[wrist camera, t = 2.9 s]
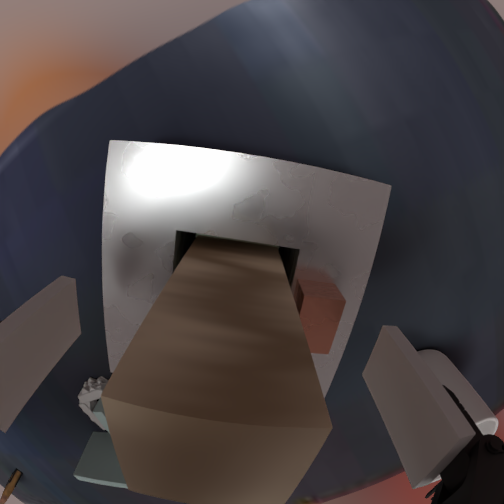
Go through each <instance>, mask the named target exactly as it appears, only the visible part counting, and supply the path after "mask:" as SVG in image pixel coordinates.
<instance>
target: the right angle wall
mask: <svg viewBox="0 0 504 504" xmlns="http://www.w3.org/2000/svg"><path fill="white" fill-rule="evenodd" d="M108 381H109V380H107V379H105V378H104V377H102V376H101V377H99V378H98V379H97V380H96V379H93V378H91V377H90V378H89V379H88V382H84V383H85V384H84V385H83V386H84V388H82V390H81V391H80V393H79V395H78V396H77V397H78V399H79V400H80V401H79V403H80V404H79V406H80V408H81V409H82V410H83V412H85V413H86V414H87V415H88V416H89V417H90V419H91V420H92V421H94V422H95V423H96V424H97V425H98V426H99V427H101V428H102V429H103V430H107V431H108V432H109V428H108V424H107V420H106V416H105V412H104V408H103V404H102V400H101V394H102V392H103V390H104V388H105V386H106V384H107V383H108ZM97 399H99V401H97ZM73 475H74V476H75V477H76V478H77V479H78V480H82V481H87V482H91V483H97V484H102V485H108V486H114V487H121V488H128V487H127V484H126V481H125V479H124V476H123V473H122V470H121V467H120V464H119V461H118V458H117V455H116V452H115V449H114V446H113V442H112V439H111V435H110V432H109V433H106V432H93V433H92V435H91V437H90V439H89V441H88V443H87V445H86V447H85V450H84V452H83V454H82V456H81V458H80V461H79V463H78V465H77V467H76V469H75V472H74V474H73Z"/></svg>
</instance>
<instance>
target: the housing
mask: <svg viewBox="0 0 504 504" xmlns="http://www.w3.org/2000/svg"><path fill="white" fill-rule="evenodd" d="M390 191H391V185H388V184H384V183H380V182H377V181H373V180H369V179H365V178H361V177H357V176H353V175H349V174H345V173H341V172H337V171H332V170H328V169H324V168H319V167H314V166H310V165H305V164H300V163H295V162H290V161H284V160H279V159H273V158H268V157H262V156H256V155H250V154H243V153H237V152H230V151H223V150H216V149H208V148H200V147H191V146H182V145H172V144H160V143H148V142H134V141H115V140H110V143H109V151H108V159H107V168H106V178H105V189H104V204H103V224H102V285H103V306H104V320H105V332H106V342H107V351H108V359H109V366H110V372H112V373H113V372H114V370H115V368H116V367H117V365H118V363H119V361H120V360H121V358H122V356H123V354H124V353H125V351H126V349H127V347H128V346H129V344H130V342H131V341H132V339H133V337H134V336H135V334H136V332H137V330H138V329H139V327H140V325H141V324H142V322H143V320H144V319H145V317H146V315H147V314H148V312H149V311H150V309H151V307H152V306H153V304H154V302H155V301H156V299H157V298H158V296H159V294H160V293H161V291H162V290H163V288H164V286H165V285H166V283H167V282H168V280H169V279H170V277H171V275H172V274H173V272H174V271H175V269H176V268H177V266H178V264H179V263H180V261H181V260H182V258H183V257H184V255H185V254H186V252H187V251H188V249H189V248H190V246H191V245H192V243H193V238H194V233H199V234H205V235H212V236H218V237H225V238H231V239H238V240H244V241H250V242H257V243H263V244H270V245H276V246H281V249H280V257H281V260H282V263H283V266H284V269H285V273H286V276H287V279H288V282H289V285H290V288H291V291H292V294H293V298H294V301H295V304H296V307H297V310H298V313H299V317H300V320H301V323H302V326H303V329H304V333H305V336H306V339H307V342H308V346H309V349H310V352H311V356H312V359H313V362H314V366H315V369H316V372H317V376H318V379H319V382H320V386H321V389H322V393H323V396H324V398H325V396H326V393H327V391H328V389H329V387H330V384H331V382H332V379H333V377H334V375H335V372H336V370H337V367H338V365H339V362H340V360H341V357H342V355H343V352H344V349H345V347H346V344H347V341H348V339H349V336H350V333H351V330H352V327H353V325H354V322H355V319H356V316H357V313H358V310H359V307H360V304H361V301H362V298H363V295H364V291H365V288H366V285H367V282H368V278H369V275H370V272H371V268H372V265H373V261H374V258H375V254H376V250H377V246H378V243H379V239H380V235H381V231H382V227H383V222H384V218H385V214H386V209H387V205H388V200H389V196H390Z"/></svg>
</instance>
